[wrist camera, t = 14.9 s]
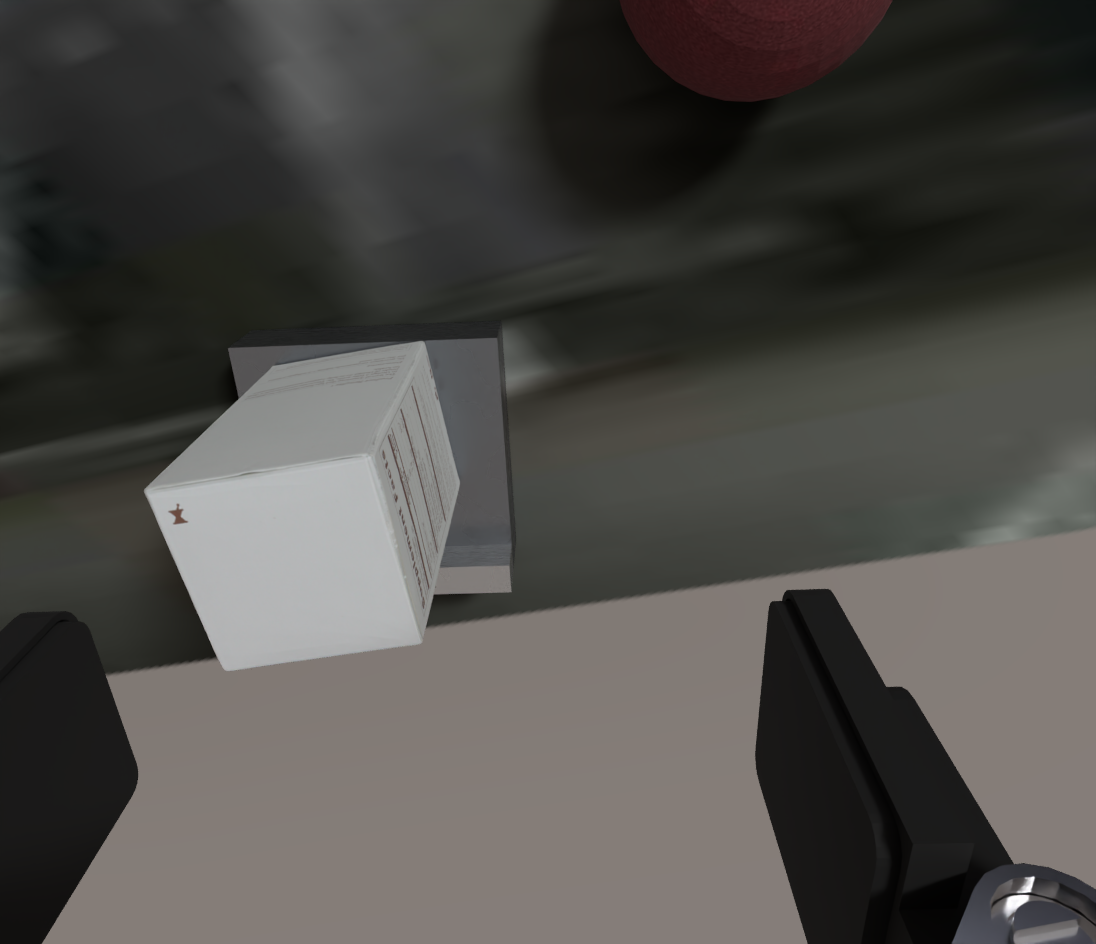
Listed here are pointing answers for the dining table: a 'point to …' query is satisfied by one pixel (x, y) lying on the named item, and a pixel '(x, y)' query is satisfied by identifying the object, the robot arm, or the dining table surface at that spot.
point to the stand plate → (470, 418)
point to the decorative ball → (750, 41)
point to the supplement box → (315, 509)
